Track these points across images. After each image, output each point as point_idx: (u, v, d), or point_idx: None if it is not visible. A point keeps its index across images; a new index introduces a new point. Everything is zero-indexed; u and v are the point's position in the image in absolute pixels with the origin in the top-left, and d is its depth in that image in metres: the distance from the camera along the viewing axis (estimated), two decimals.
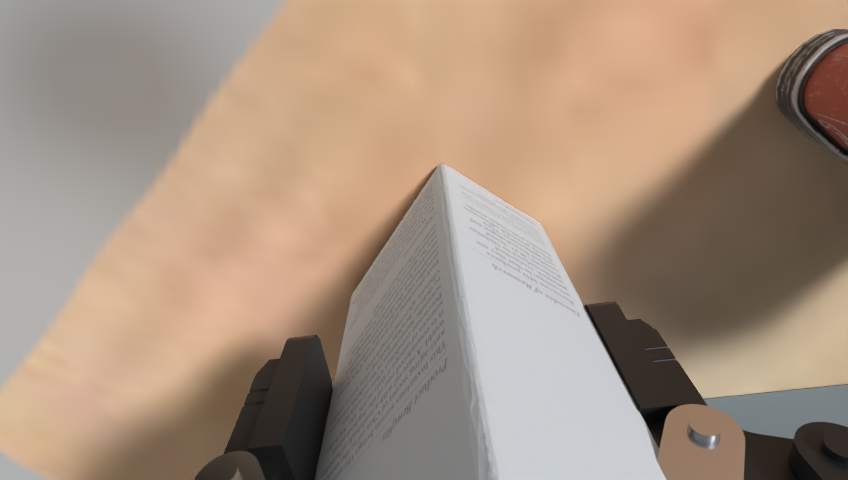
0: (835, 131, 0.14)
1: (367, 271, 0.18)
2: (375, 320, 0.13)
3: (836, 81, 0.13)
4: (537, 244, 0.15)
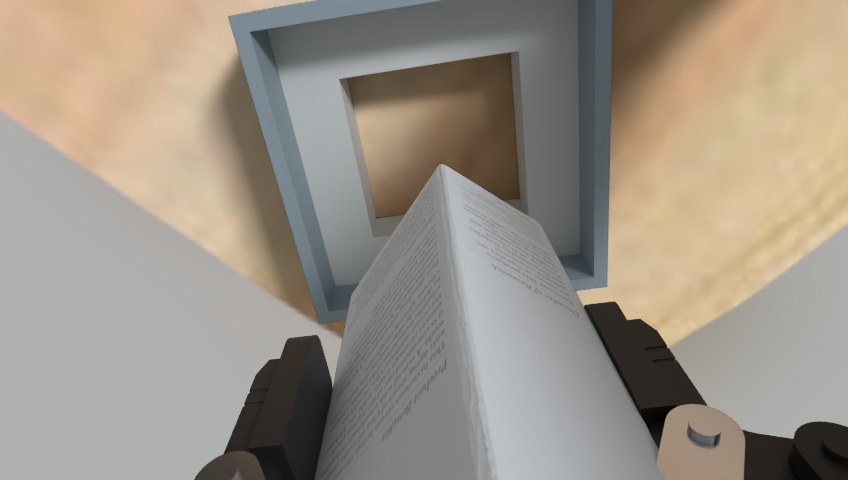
0: None
1: (367, 271, 0.18)
2: (374, 321, 0.13)
3: None
4: (537, 244, 0.15)
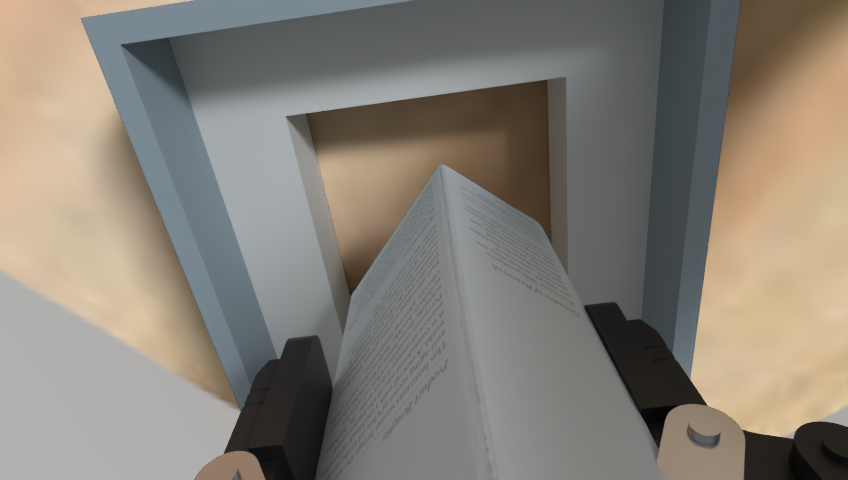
0: None
1: (367, 271, 0.18)
2: (375, 320, 0.13)
3: None
4: (537, 244, 0.15)
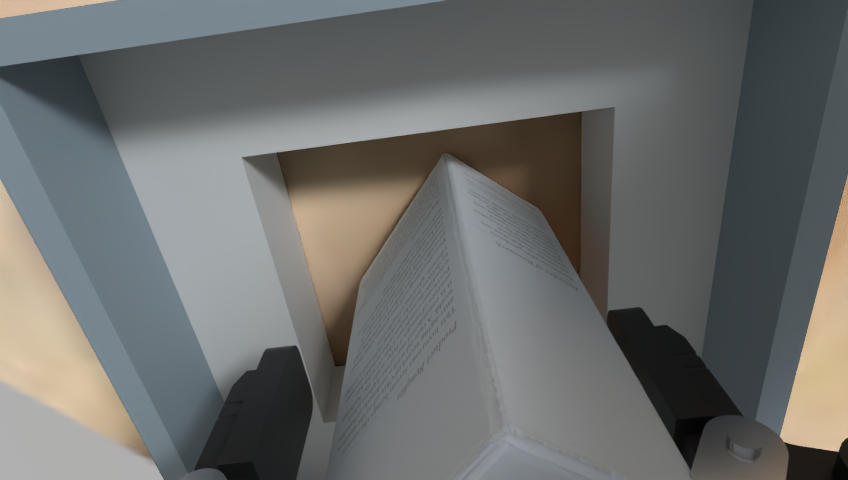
0: None
1: (375, 258, 0.18)
2: (385, 300, 0.14)
3: None
4: (537, 227, 0.15)
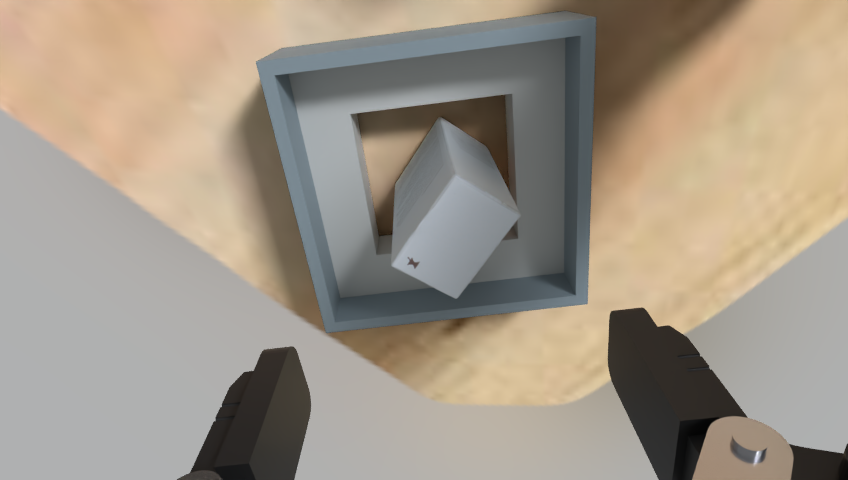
0: None
1: None
2: (412, 179, 0.32)
3: None
4: (482, 150, 0.33)
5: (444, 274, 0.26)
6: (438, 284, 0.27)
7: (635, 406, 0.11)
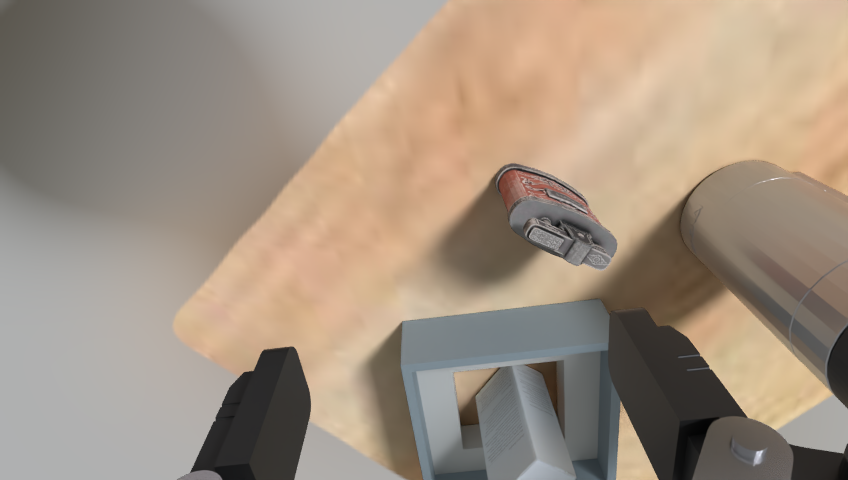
0: None
1: (482, 389, 0.50)
2: (494, 414, 0.46)
3: (501, 185, 0.39)
4: (541, 388, 0.47)
5: None
6: None
7: (635, 406, 0.11)
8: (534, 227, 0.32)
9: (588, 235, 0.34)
